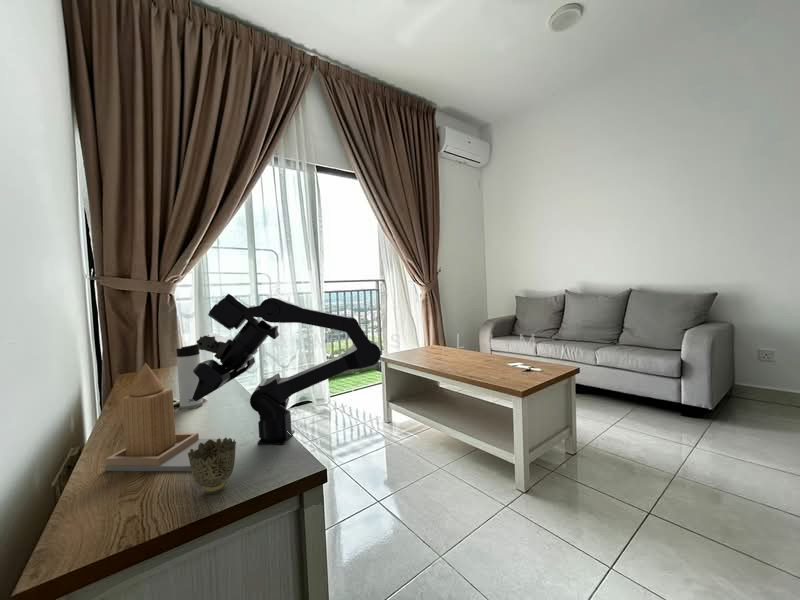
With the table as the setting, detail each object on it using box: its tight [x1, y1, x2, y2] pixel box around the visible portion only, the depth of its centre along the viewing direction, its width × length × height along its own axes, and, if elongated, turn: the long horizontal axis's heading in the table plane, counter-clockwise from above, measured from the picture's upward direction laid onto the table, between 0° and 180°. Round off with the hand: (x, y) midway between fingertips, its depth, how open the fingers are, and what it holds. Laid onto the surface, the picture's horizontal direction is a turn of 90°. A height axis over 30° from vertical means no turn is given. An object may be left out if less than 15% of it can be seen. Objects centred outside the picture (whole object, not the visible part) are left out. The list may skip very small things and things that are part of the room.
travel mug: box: [176, 343, 204, 410], centre depth 104 cm, size 6×7×20 cm
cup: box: [188, 437, 237, 495], centre depth 58 cm, size 8×7×8 cm
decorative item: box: [121, 362, 176, 457], centre depth 72 cm, size 7×7×20 cm
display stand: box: [104, 432, 233, 472], centre depth 72 cm, size 20×12×2 cm, turn 86°
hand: (205, 393), depth 77 cm, fingers open, 9 cm apart
